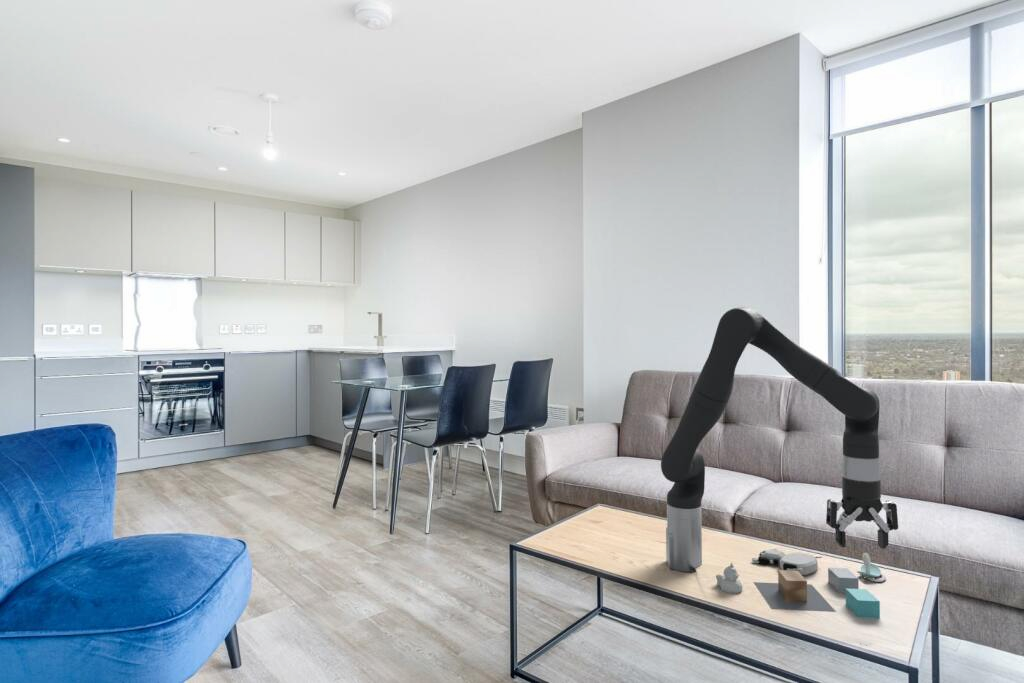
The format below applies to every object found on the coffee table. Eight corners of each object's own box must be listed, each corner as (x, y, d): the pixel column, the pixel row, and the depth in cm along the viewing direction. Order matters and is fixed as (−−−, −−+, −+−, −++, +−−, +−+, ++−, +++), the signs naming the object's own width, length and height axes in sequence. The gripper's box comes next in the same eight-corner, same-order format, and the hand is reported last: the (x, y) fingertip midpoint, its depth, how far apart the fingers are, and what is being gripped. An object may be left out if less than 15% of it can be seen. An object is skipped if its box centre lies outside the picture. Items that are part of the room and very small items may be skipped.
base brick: (787, 601, 133) (786, 580, 133) (778, 590, 139) (778, 569, 139) (807, 602, 132) (806, 581, 132) (797, 590, 138) (797, 570, 138)
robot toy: (749, 570, 156) (805, 584, 144) (748, 554, 156) (804, 566, 144) (770, 559, 163) (825, 571, 152) (769, 543, 164) (824, 554, 152)
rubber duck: (736, 601, 136) (736, 568, 136) (711, 592, 141) (710, 560, 141) (746, 593, 140) (746, 561, 140) (721, 585, 145) (721, 554, 145)
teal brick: (858, 622, 125) (857, 600, 125) (845, 609, 131) (845, 588, 131) (879, 623, 125) (879, 601, 125) (866, 610, 131) (866, 589, 131)
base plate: (771, 613, 130) (771, 608, 130) (753, 586, 143) (753, 582, 143) (836, 616, 128) (836, 611, 128) (811, 589, 142) (811, 584, 142)
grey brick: (838, 597, 137) (838, 577, 137) (828, 587, 143) (828, 567, 143) (858, 598, 136) (858, 578, 136) (847, 587, 142) (847, 568, 142)
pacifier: (888, 577, 148) (862, 570, 153) (889, 554, 148) (863, 547, 152) (881, 586, 143) (855, 578, 148) (882, 562, 143) (855, 555, 147)
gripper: (834, 479, 125) (835, 552, 125) (904, 480, 123) (905, 554, 123) (820, 471, 132) (821, 540, 133) (885, 472, 131) (886, 541, 131)
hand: (861, 546), depth 128 cm, fingers open, 8 cm apart
